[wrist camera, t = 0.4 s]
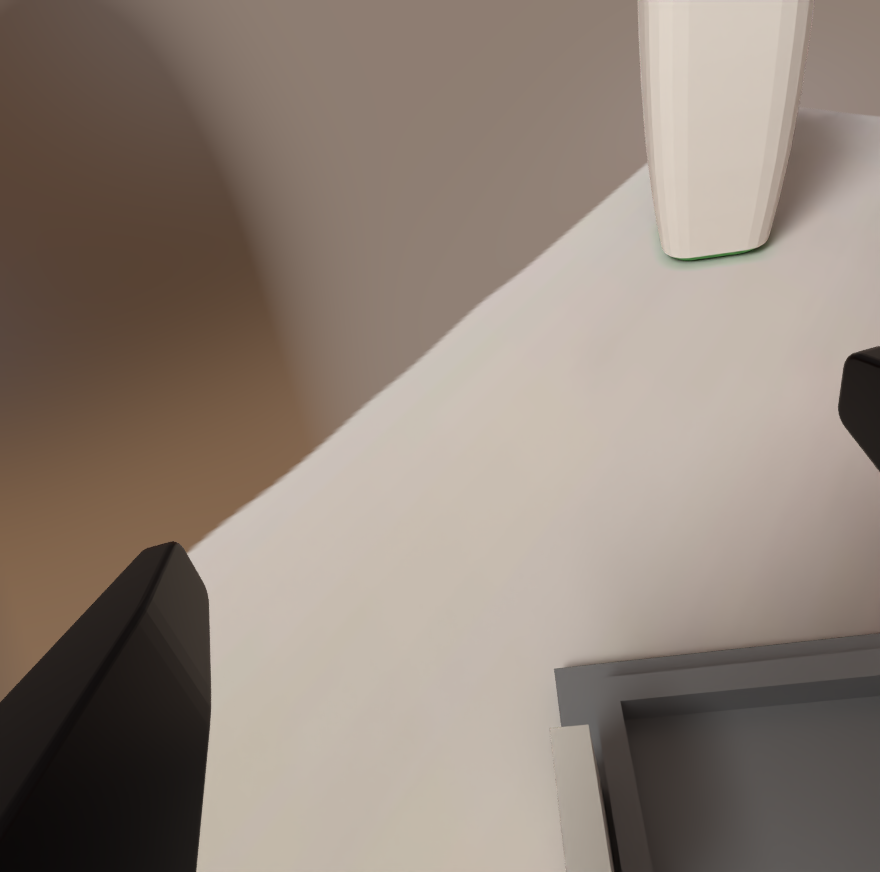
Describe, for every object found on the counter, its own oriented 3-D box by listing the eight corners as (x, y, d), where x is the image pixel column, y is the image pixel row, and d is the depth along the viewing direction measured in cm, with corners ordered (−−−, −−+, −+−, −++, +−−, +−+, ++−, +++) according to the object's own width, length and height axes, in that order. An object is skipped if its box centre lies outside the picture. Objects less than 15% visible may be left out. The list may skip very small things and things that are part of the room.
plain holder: (1315, 1255, 13) (1599, 1318, 9) (627, 1234, 15) (612, 1278, 11) (952, 636, 22) (1013, 532, 18) (556, 678, 24) (534, 593, 20)
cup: (761, 198, 43) (790, -89, 32) (789, 261, 38) (833, -55, 28) (642, 217, 44) (633, -49, 34) (653, 279, 40) (647, -11, 29)
